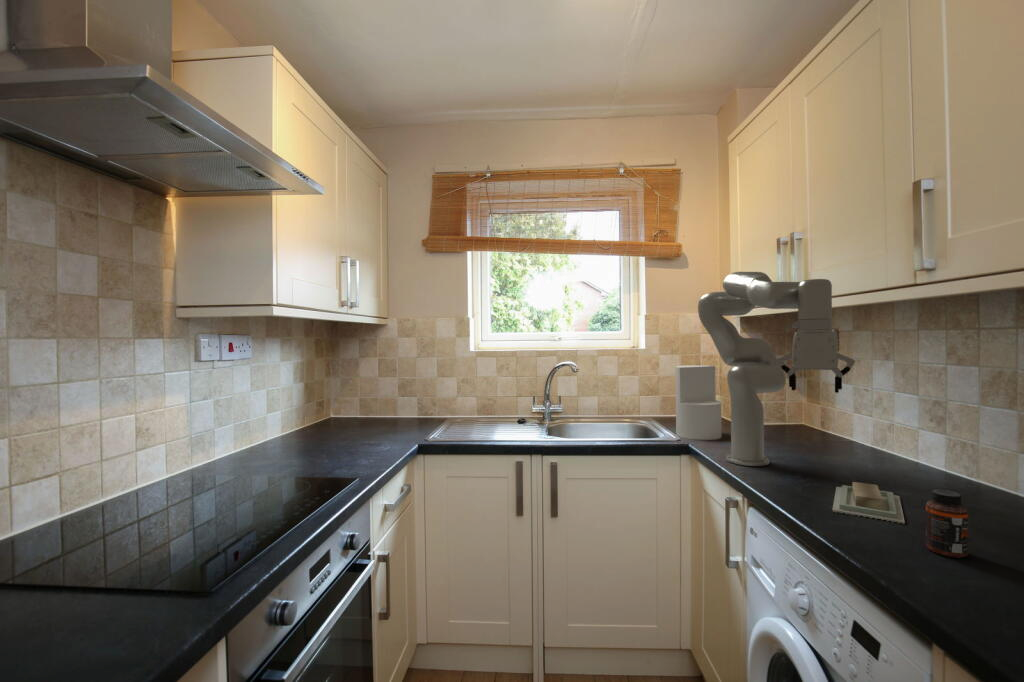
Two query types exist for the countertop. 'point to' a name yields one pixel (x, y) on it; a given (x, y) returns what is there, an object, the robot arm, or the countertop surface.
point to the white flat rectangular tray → (847, 506)
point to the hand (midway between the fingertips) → (814, 391)
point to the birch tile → (867, 496)
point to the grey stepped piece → (697, 403)
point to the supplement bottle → (947, 524)
